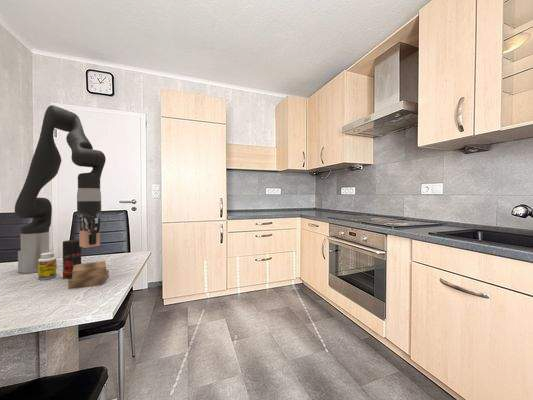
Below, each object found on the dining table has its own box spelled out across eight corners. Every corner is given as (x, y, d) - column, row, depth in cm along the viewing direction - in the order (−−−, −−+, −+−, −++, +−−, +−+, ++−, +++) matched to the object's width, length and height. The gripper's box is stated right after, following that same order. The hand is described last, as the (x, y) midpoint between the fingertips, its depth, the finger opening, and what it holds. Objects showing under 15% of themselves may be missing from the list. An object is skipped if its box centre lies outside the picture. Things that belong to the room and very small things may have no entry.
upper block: (72, 281, 83) (72, 271, 83) (74, 273, 91) (74, 264, 91) (106, 275, 89) (106, 266, 89) (105, 269, 97) (105, 260, 97)
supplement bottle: (36, 281, 91) (35, 255, 91) (39, 277, 96) (39, 252, 96) (54, 278, 94) (54, 253, 94) (57, 275, 99) (57, 251, 99)
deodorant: (84, 275, 99) (84, 240, 99) (68, 279, 93) (68, 242, 93) (75, 273, 101) (75, 239, 101) (59, 278, 95) (59, 241, 95)
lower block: (68, 290, 84) (68, 280, 84) (79, 281, 93) (79, 272, 93) (101, 286, 87) (101, 277, 87) (108, 278, 97) (108, 269, 97)
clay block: (84, 247, 87) (84, 231, 87) (79, 246, 90) (79, 230, 89) (99, 245, 91) (99, 230, 91) (94, 244, 94) (94, 229, 94)
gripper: (108, 200, 89) (108, 244, 89) (93, 200, 97) (93, 240, 97) (84, 200, 83) (85, 247, 83) (70, 200, 91) (71, 243, 91)
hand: (89, 243), depth 90 cm, fingers closed on clay block, 5 cm apart
